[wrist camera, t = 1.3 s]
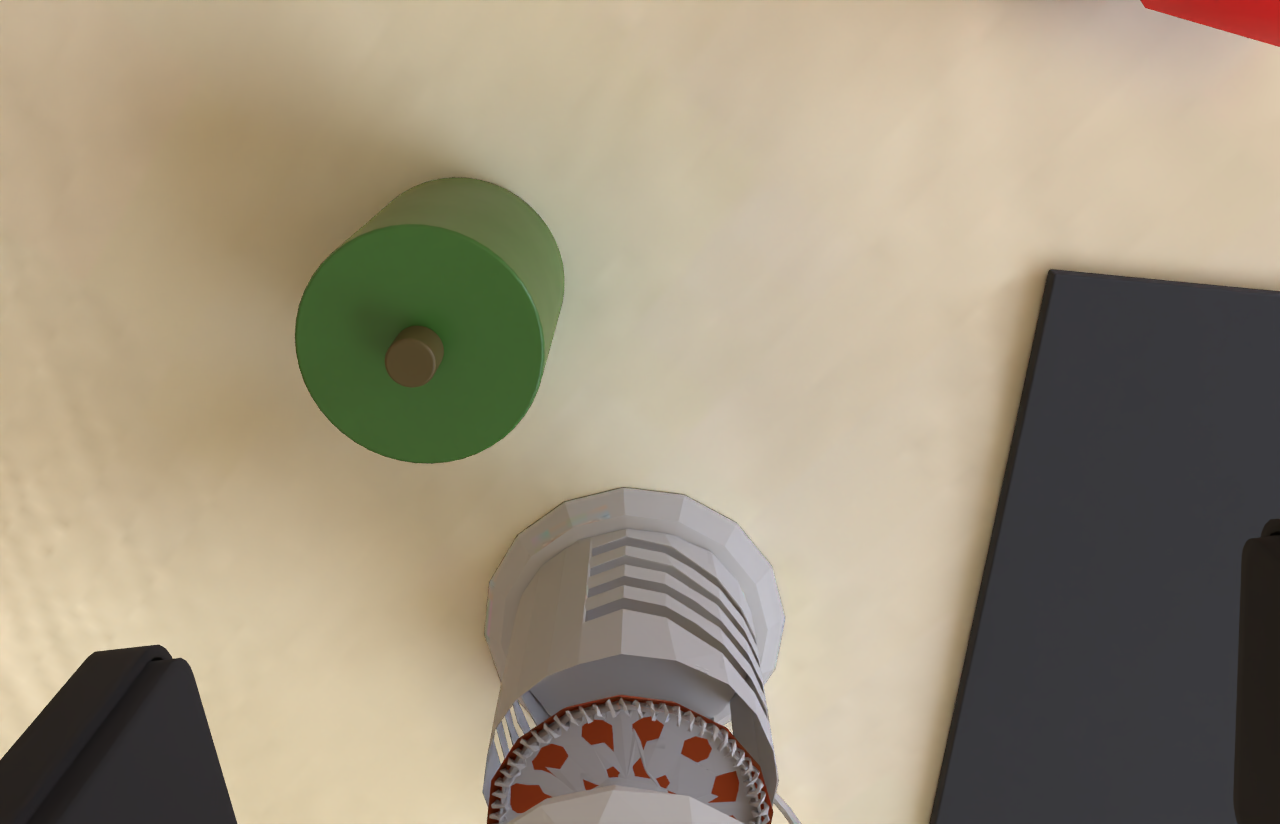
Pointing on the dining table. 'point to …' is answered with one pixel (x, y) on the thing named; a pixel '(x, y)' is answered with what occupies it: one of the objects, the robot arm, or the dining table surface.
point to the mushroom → (1228, 15)
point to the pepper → (433, 322)
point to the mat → (1120, 560)
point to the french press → (634, 667)
